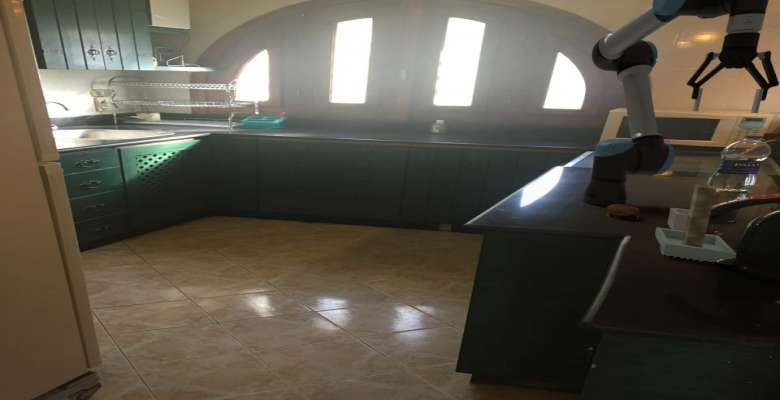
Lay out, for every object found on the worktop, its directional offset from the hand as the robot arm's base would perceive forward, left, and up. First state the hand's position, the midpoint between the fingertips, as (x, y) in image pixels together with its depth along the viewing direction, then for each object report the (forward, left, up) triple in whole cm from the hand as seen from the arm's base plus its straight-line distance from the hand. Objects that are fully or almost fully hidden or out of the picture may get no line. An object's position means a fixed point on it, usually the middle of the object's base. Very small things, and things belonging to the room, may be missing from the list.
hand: (724, 112), depth 114 cm
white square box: (-5, -9, -35) cm, 36 cm away
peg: (-7, -27, -34) cm, 44 cm away
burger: (-21, -3, -35) cm, 41 cm away
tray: (-7, -27, -35) cm, 45 cm away
